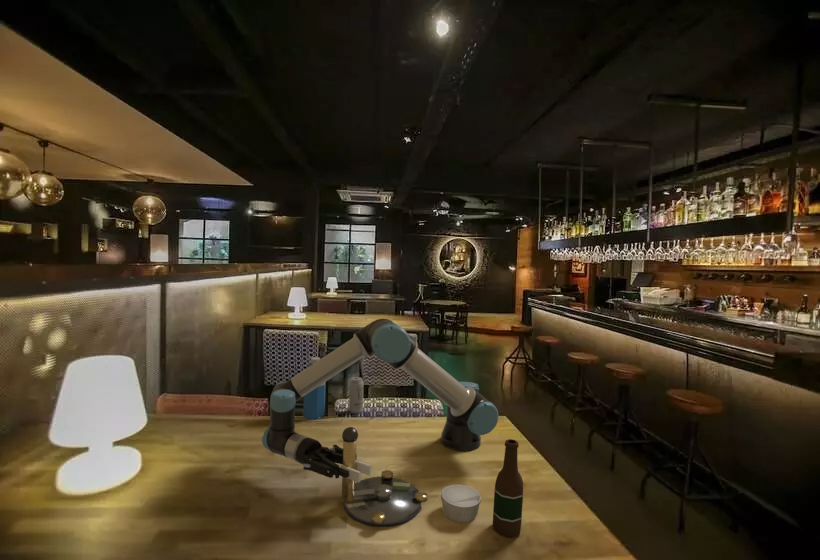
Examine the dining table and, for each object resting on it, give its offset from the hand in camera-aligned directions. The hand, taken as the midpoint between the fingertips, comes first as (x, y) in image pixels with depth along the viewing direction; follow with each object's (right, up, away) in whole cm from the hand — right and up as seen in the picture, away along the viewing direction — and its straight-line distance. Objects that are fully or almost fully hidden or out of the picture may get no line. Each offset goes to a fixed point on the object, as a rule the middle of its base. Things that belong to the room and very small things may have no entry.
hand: (364, 473), depth 120 cm
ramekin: (+26, -13, +3) cm, 29 cm away
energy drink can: (-12, -6, +76) cm, 77 cm away
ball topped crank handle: (0, -9, +5) cm, 10 cm away
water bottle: (-29, -6, +70) cm, 76 cm away
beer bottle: (+38, -14, -3) cm, 40 cm away
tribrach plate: (+4, -11, +7) cm, 14 cm away
